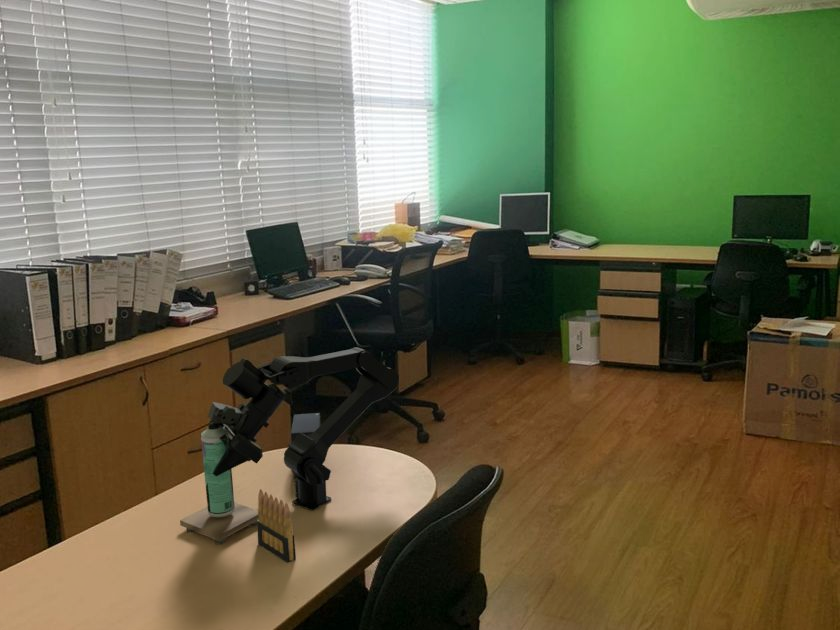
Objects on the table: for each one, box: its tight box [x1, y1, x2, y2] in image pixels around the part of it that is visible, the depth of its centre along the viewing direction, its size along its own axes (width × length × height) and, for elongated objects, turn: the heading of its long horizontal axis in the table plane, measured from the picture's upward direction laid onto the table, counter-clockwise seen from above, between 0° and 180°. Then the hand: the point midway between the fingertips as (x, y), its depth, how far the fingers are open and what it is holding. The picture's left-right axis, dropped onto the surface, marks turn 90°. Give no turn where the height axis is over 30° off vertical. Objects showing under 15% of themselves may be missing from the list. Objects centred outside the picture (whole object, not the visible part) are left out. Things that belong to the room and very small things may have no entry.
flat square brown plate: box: [179, 501, 259, 545], centre depth 164 cm, size 12×12×2 cm
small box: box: [290, 412, 321, 479], centre depth 193 cm, size 13×7×12 cm, turn 6°
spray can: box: [200, 420, 235, 517], centre depth 162 cm, size 6×6×20 cm
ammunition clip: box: [256, 488, 297, 564], centre depth 153 cm, size 11×2×12 cm, turn 44°
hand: (211, 469), depth 161 cm, fingers closed on spray can, 5 cm apart
